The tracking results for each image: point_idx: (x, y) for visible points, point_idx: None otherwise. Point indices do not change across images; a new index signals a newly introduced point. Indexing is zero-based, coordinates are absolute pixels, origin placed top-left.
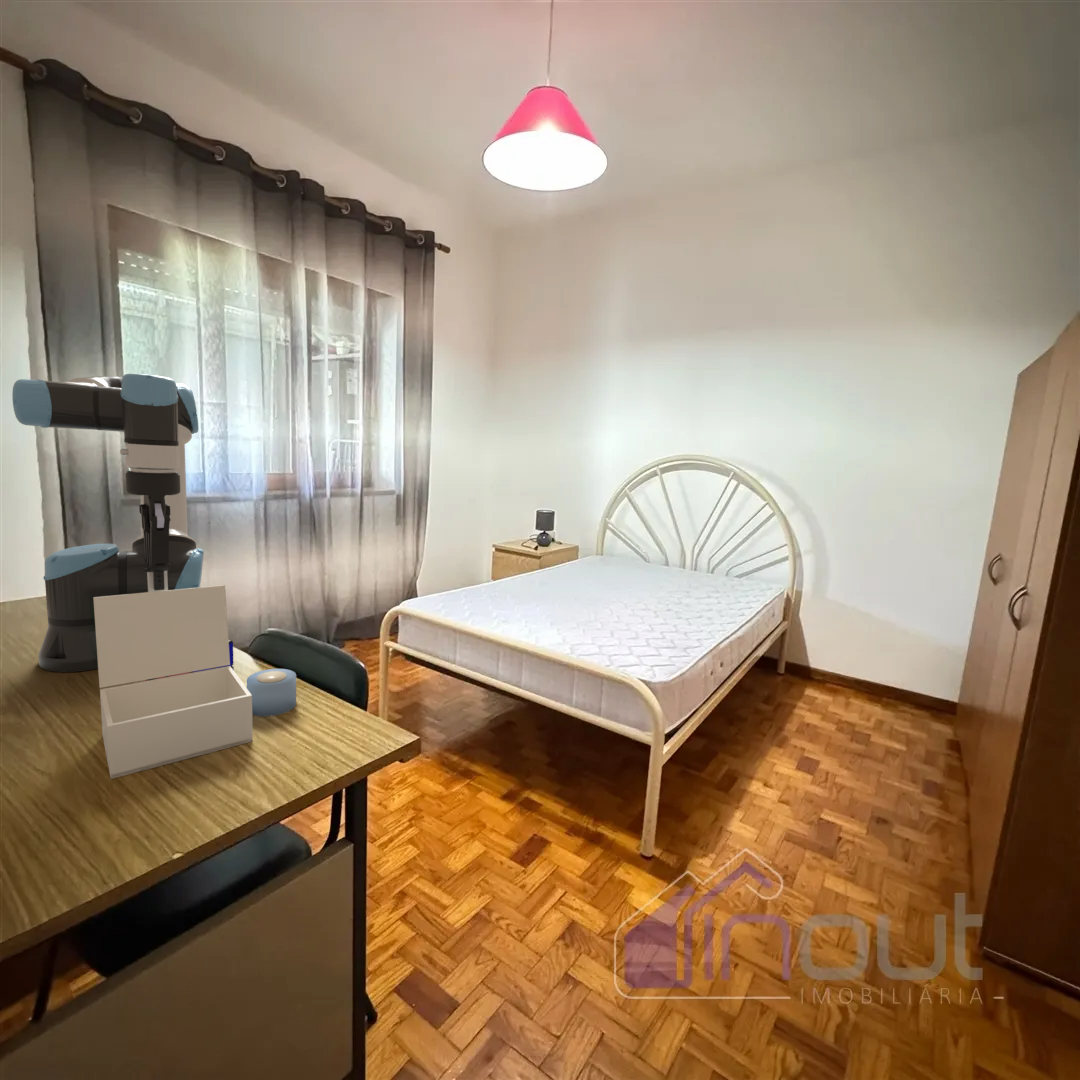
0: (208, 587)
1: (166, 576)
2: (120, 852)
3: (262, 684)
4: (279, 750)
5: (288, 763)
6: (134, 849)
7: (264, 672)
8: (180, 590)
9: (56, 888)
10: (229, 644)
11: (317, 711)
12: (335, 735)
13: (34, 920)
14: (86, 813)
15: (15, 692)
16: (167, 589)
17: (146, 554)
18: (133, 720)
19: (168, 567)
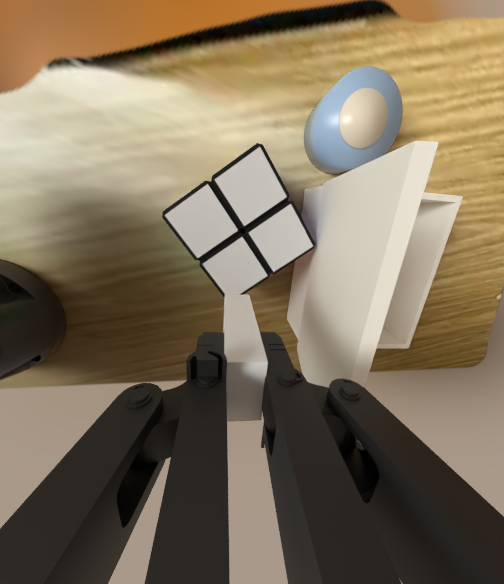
0: (413, 217)
1: (263, 347)
2: (465, 323)
3: (377, 148)
4: (445, 180)
5: (474, 183)
6: (470, 316)
7: (333, 121)
8: (385, 310)
9: (465, 351)
10: (268, 156)
11: (400, 82)
12: (474, 100)
13: (479, 358)
14: None
15: (115, 378)
16: (254, 318)
17: (149, 493)
18: (415, 328)
19: (362, 387)
